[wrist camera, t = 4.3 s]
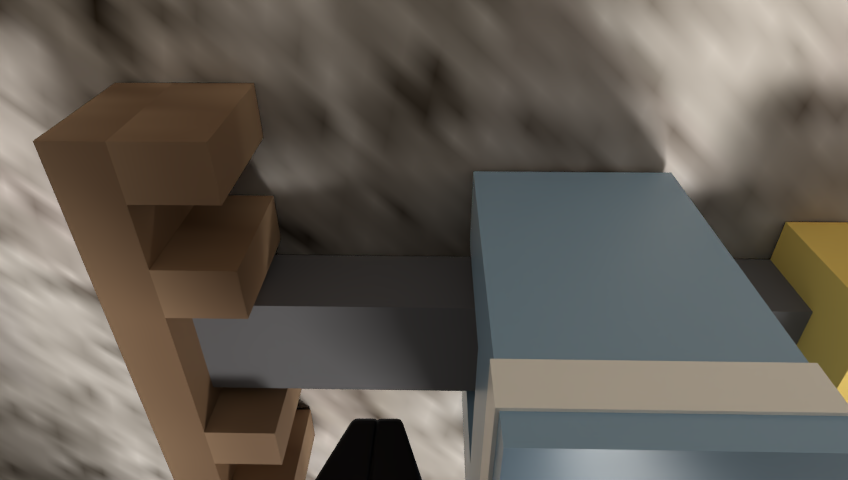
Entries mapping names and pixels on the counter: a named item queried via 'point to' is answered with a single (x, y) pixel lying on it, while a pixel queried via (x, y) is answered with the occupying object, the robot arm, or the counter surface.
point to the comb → (179, 263)
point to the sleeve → (630, 343)
